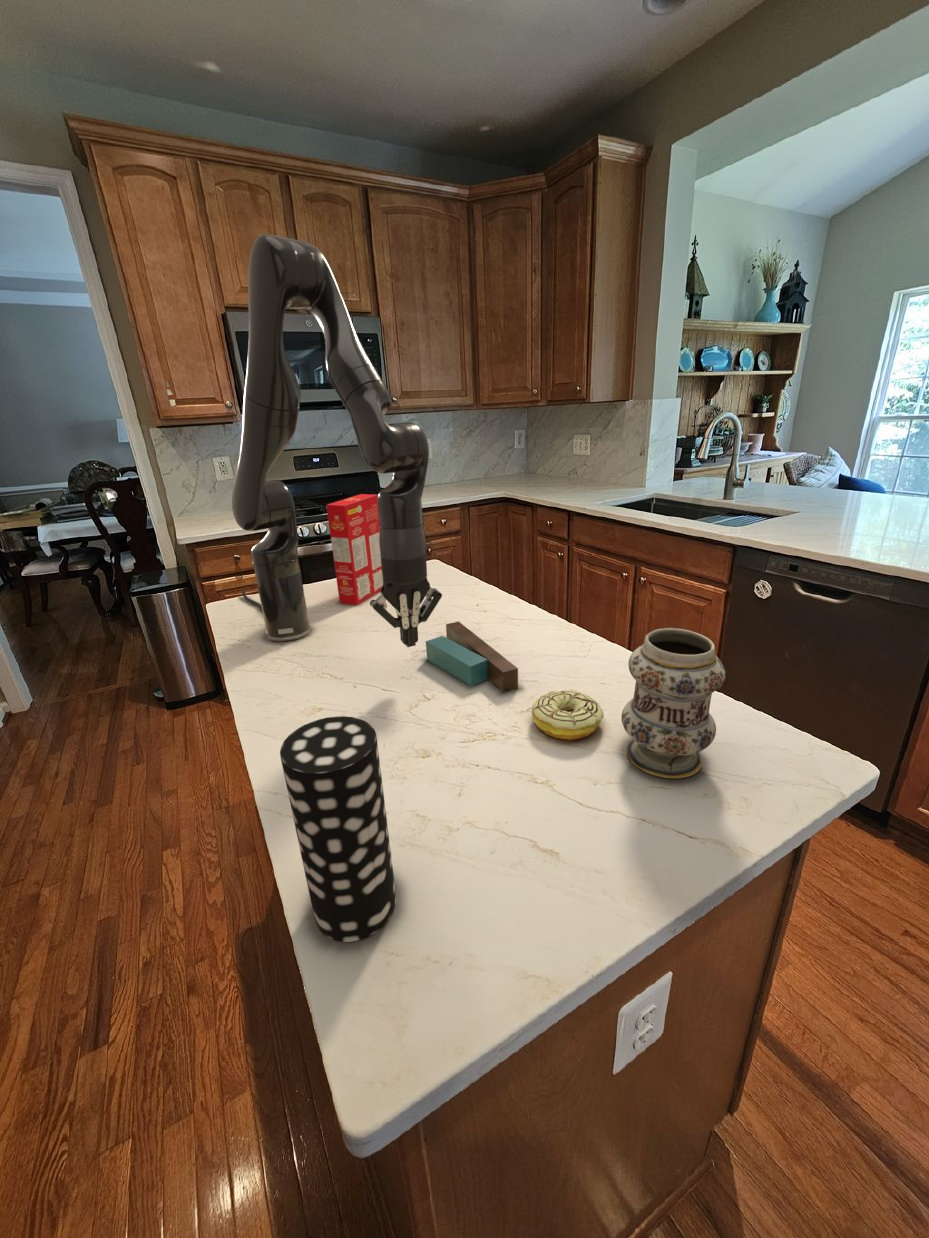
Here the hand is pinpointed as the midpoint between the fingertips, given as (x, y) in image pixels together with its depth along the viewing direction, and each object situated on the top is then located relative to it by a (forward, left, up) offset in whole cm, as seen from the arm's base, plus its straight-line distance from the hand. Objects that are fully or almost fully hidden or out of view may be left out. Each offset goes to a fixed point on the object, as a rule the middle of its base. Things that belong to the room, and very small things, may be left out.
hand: (409, 644), depth 95 cm
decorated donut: (+25, +16, -7) cm, 31 cm away
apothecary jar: (+38, +23, -7) cm, 45 cm away
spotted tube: (+41, -22, -7) cm, 47 cm away
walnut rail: (0, +14, -7) cm, 15 cm away
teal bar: (0, +9, -7) cm, 11 cm away
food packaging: (-50, +5, -7) cm, 50 cm away
